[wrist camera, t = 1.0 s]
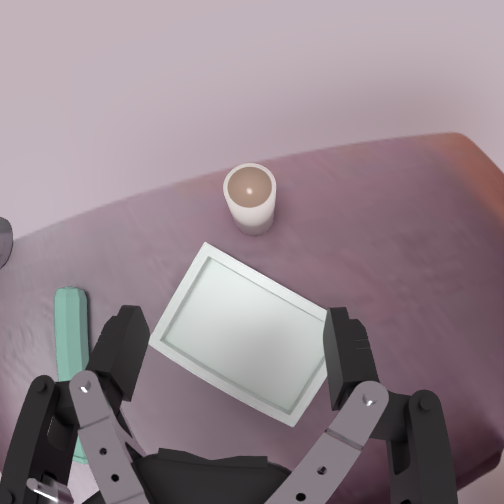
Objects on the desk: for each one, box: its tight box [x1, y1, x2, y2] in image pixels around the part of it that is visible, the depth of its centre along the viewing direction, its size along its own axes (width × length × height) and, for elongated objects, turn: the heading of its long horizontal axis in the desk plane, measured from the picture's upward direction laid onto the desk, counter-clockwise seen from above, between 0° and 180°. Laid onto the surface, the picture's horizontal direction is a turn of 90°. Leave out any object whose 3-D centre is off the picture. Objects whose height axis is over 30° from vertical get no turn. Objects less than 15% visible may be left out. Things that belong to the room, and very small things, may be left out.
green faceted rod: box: [54, 286, 89, 464], centre depth 34 cm, size 6×6×25 cm
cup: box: [223, 163, 276, 236], centre depth 33 cm, size 5×5×10 cm
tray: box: [148, 242, 327, 427], centre depth 35 cm, size 20×14×2 cm
